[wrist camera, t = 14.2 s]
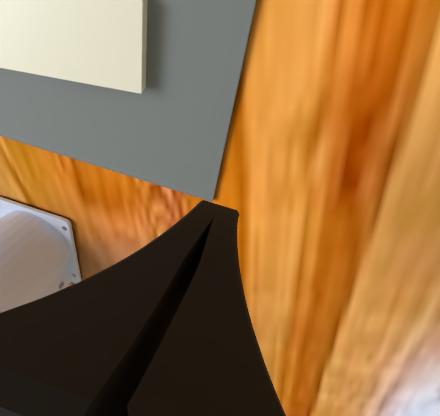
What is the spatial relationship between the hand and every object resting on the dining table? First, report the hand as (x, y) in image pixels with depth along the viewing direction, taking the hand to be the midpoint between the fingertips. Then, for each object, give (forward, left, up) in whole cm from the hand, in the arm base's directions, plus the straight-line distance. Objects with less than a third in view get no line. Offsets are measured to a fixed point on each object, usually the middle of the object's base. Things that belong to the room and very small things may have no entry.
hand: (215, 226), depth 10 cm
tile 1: (+3, +7, -8) cm, 11 cm away
